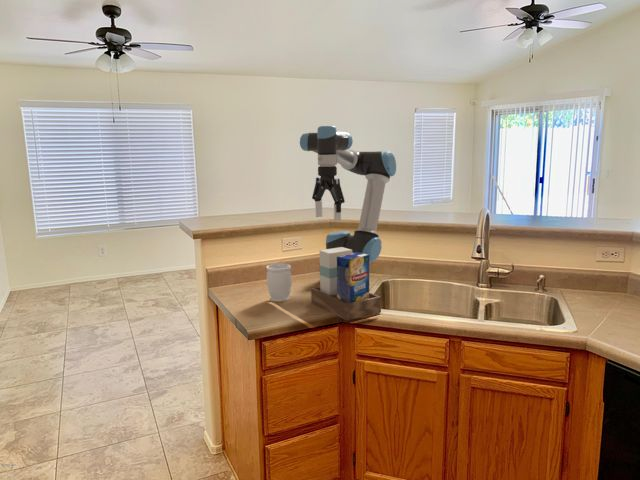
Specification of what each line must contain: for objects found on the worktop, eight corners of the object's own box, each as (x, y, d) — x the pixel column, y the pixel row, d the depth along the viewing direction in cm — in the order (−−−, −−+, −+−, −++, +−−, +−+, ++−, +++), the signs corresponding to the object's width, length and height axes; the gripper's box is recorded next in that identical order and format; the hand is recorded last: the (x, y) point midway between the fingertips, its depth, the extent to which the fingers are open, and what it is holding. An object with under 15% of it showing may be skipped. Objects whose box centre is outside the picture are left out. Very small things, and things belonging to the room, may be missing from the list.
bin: (343, 297, 199) (343, 281, 197) (380, 314, 178) (381, 296, 176) (311, 304, 190) (311, 288, 189) (346, 323, 169) (346, 304, 168)
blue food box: (369, 309, 180) (369, 254, 176) (350, 317, 172) (350, 259, 168) (355, 305, 185) (355, 252, 181) (337, 313, 177) (336, 256, 173)
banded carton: (342, 298, 195) (342, 246, 190) (352, 302, 189) (352, 249, 185) (320, 303, 189) (319, 250, 185) (329, 307, 183) (329, 253, 179)
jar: (288, 305, 190) (287, 269, 188) (264, 303, 192) (262, 268, 190) (294, 297, 201) (293, 263, 198) (272, 296, 203) (270, 262, 200)
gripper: (303, 165, 193) (304, 216, 197) (337, 166, 172) (337, 223, 176) (318, 164, 197) (319, 214, 201) (353, 166, 176) (353, 221, 180)
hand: (327, 218), depth 189 cm, fingers open, 13 cm apart
